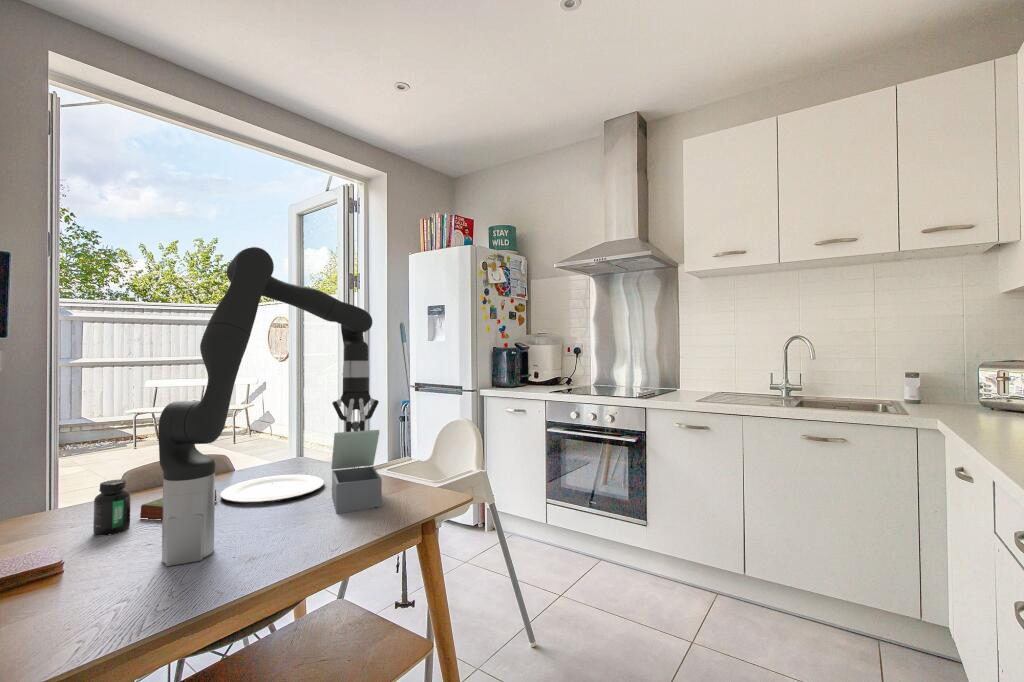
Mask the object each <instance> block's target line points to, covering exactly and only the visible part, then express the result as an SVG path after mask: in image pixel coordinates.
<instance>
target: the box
mask: <svg viewBox="0 0 1024 682" xmlns="http://www.w3.org/2000/svg"><path fill="white" fill-rule="evenodd" d="M331 471H332V472H331V481H332V482H331V498H332V502H333V506H334V510H335V513H336V514H342V513H343V512H344V513H349V512H348V511H351V512H356V511H355V510H358V511H363V510H362V509H365V510H369V509H368V508H372V509H375V508H374V507H379V508H382V487H383V486H382V485H383V484H382V481H383V480H382V477H381V475H379V473H378V471H377V470H376V468H374V465H372V466H363V467H353V468H343V469H333V470H331Z"/></svg>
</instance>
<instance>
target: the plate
mask: <svg viewBox="0 0 1024 682" xmlns="http://www.w3.org/2000/svg"><path fill="white" fill-rule="evenodd" d="M272 483H273V484H272ZM324 484H325V480H324V479H323V478H321V477H318V476H317V475H316V476H315V475H308V474H282V475H272V476H264V477H259V478H253V479H248V480H245V481H240V482H238V483H236V484H235V483H234V484H232V485H229V486H228V487H226V488H224V489H223V490H222V491H221V492H220V498H222V499H223V500H224V501H227V502H232V503H242V504H249V503H250V504H259V503H260V502H264V503H272V502H271V501H274V502H278V500H281V501H285V499H286V500H290V499H294V498H298V497H301V496H305V495H308V494H311V493H313V492H315V491H317V490H319V489H320V488H322V487H323V486H324ZM289 498H290V499H289ZM260 504H261V503H260Z"/></svg>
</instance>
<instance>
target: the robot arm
mask: <svg viewBox="0 0 1024 682" xmlns="http://www.w3.org/2000/svg"><path fill="white" fill-rule="evenodd" d="M274 268H275V265H274V261H273V259H272V256H271V255H270V254H269V253H268V251H266V250H265V249H263V248H261V247H258V246H251V247H246V248H244V249H241V250H240V251H239V252H238V253H237V254H235V256H234V258H232V260H231V261H230V263H228V265H227V267H226V277H227V279H228V280H229V282H230V284H229V287H227V291H226V293H224V295H223V297H222V299H221V300H220V301H219V303H218V305H217V307H216V308H215V309H214V312H213V313H212V315H211V317H210V319H209V321H208V323H207V326H206V328H205V329H204V330H205V331H204V332H203V336H202V339H201V341H200V345H199V348H200V356H201V358H202V360H203V363H204V366H205V370H206V372H207V373H206V374H207V384H206V388H205V391H204V395H203V397H202V398H201V400H177V401H172V402H170V403H168V404H167V405H165V407H164V408H163V410H162V411H161V413H160V417H159V420H158V425H157V426H158V429H157V432H158V433H157V434H158V437H157V438H158V454H159V455H158V457H159V459H158V460H159V465H160V467H161V470H162V474H163V481H162V483H163V484H162V485H163V486H162V498H163V521H161V522H162V527H161V528H162V530H161V533H162V534H161V562H162V563H163V564H165V566H166V567H172V566H175V565H176V566H177V565H182V564H188V563H189V564H190V563H194V562H201V561H202V560H203V559H204V558H207V557H209V555H211V554H213V553H214V551H215V505H216V504H215V503H216V502H215V489H216V488H215V487H216V461H215V459H213V458H212V457H210V456H207V455H205V454H203V453H202V452H201V451H200V450H198V449H197V448H196V446H195V445H207V444H212V443H214V442H216V440H218V438H220V436H221V434H222V433H223V431H224V429H225V425H226V422H227V418H228V414H229V408H230V405H231V400H232V395H233V391H234V387H235V382H236V380H237V376H238V372H239V370H240V366H241V363H242V360H243V358H244V355H245V352H246V350H247V346H248V344H249V340H250V337H251V334H252V330H253V327H254V324H255V321H256V316H257V313H258V308H259V305H260V301H261V298H262V297H265V298H269V299H272V300H274V301H278V302H281V303H285V304H287V305H290V306H293V307H295V308H298V309H301V310H302V311H305V312H307V313H308V314H309V313H310V315H313V316H316V317H318V318H320V319H322V320H325V321H327V322H331V323H337V324H340V328H341V329H340V330H341V332H340V333H341V336H342V341H343V346H344V349H343V366H342V374H341V375H342V394H341V396H340V398H339V399H337V400H334V401H332V402H331V403H332V406H333V408H334V409H335V411H336V414H337V416H338V418H339V419H340V420H341V421H345V432H352V428H351V424H352V421H351V420H352V414H353V411H355V410H358V413H359V419H360V420H359V421H358V422H359V423H360V427H359V429H358V431H366V421H367V420H370V419H372V417H373V415H374V412H375V411H376V409H377V407H378V404H379V403H380V402H379V400H378V399H374V398H372V397H371V395H370V365H369V345H368V343H367V342H365V339H364V333H366V332H368V331H369V330H370V329H371V328H372V325H373V318H372V316H371V313H369V312H368V311H366V310H365V309H363V308H361V307H359V306H356V305H353V304H350V303H348V302H344V301H342V300H339V299H338V298H336V297H333V296H331V295H330V294H327V293H325V292H324V291H322V290H320V289H316V288H313V287H310V286H309V287H308V286H304V285H297V284H293V283H289V282H285V281H283V280H280V279H278V278H276V277H273V276H272V275H273V273H274V270H275V269H274ZM342 403H343V405H344V406H345V407H346V415H344V413H343V412H342V410H341V407H342ZM367 404H369V405H370V408H369V409H368V411H367V413H366V412H365V407H366V406H367Z"/></svg>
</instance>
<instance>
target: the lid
mask: <svg viewBox="0 0 1024 682" xmlns="http://www.w3.org/2000/svg"><path fill="white" fill-rule="evenodd" d="M359 427H360V423H359V421H357V420H354V421H351V430H353V431H351V432H346V431H341V432H334V434H333V443H332V444H333V446H332V456H331V457H332V458H331V466H330V467H331V468H330V469H331V471H333V470H342V469H352V468H362V467H371V466H374V464H375V460H376V459H375V458H376V453H377V449H378V442H379V436H380V429H373V430H372V429H371V430H370V429H369V430H368V429H367V430H365V431H359Z"/></svg>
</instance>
